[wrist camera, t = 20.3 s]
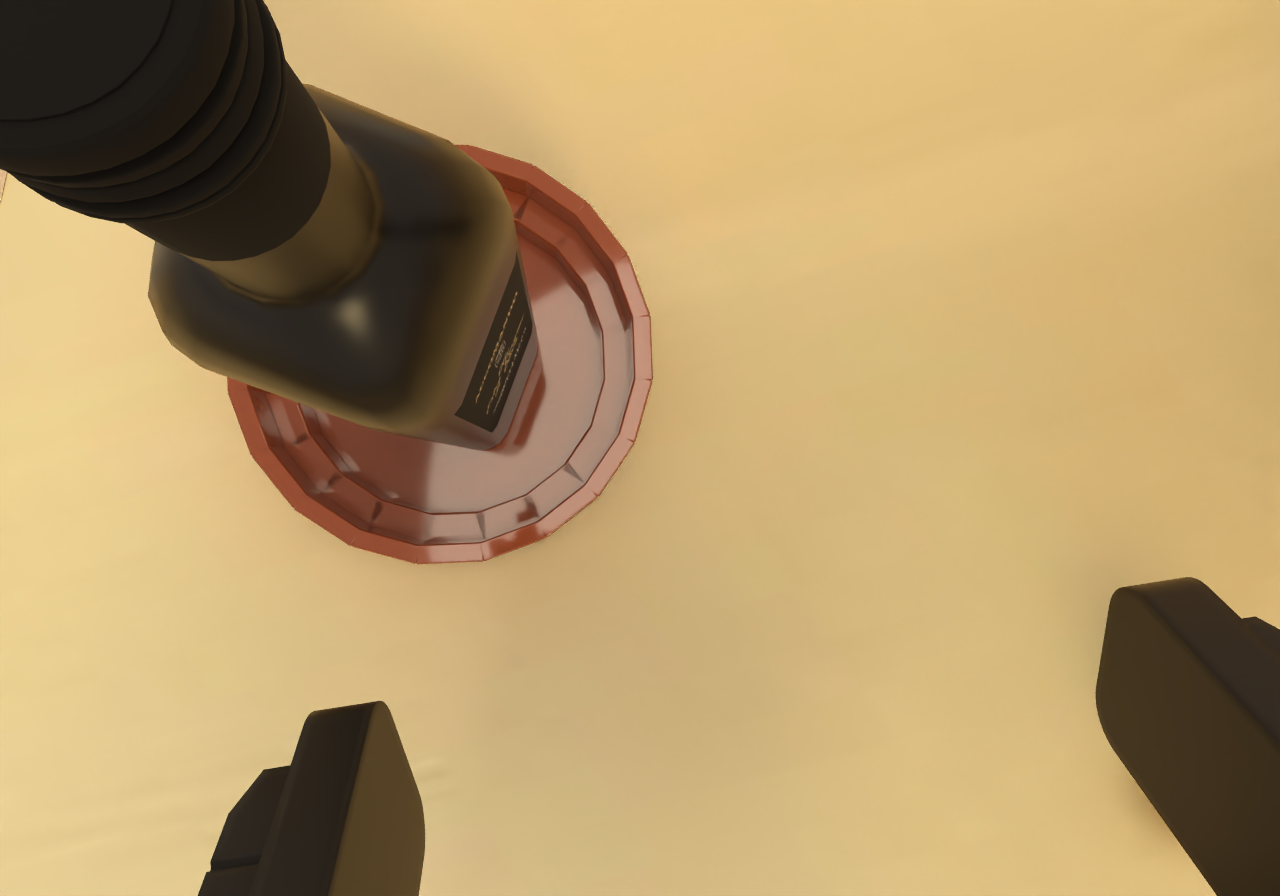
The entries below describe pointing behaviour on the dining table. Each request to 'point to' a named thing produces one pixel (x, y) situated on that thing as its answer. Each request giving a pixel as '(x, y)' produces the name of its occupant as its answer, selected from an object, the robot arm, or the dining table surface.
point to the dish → (538, 434)
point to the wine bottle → (276, 212)
